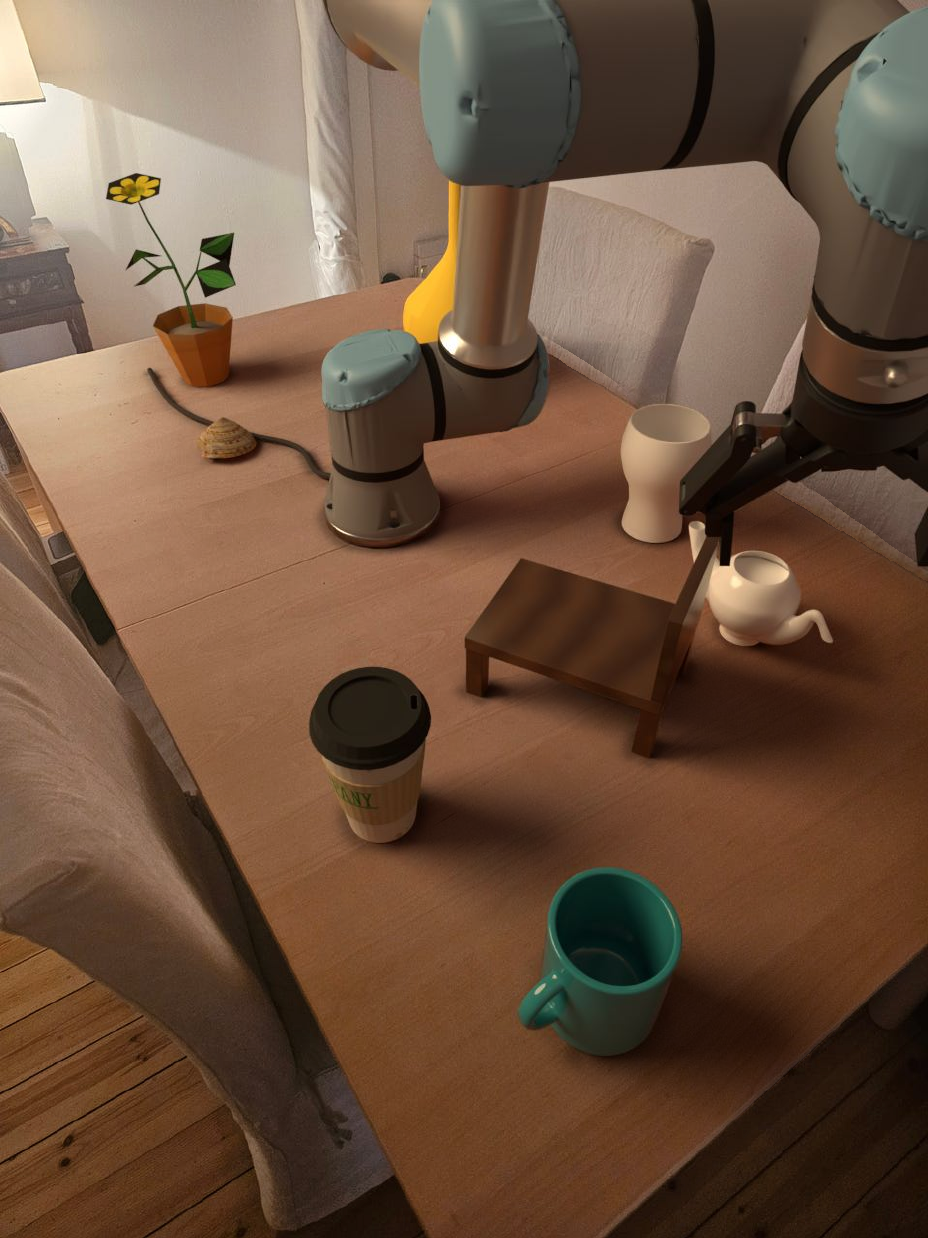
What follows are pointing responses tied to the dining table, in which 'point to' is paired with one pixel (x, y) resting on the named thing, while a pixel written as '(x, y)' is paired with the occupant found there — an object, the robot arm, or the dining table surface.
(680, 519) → the cup
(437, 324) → the vase
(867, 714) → the dining table surface
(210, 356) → the potted plant
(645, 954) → the cup
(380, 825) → the coffee cup
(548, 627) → the wooden toy chair
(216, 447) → the seashell
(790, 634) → the teapot
